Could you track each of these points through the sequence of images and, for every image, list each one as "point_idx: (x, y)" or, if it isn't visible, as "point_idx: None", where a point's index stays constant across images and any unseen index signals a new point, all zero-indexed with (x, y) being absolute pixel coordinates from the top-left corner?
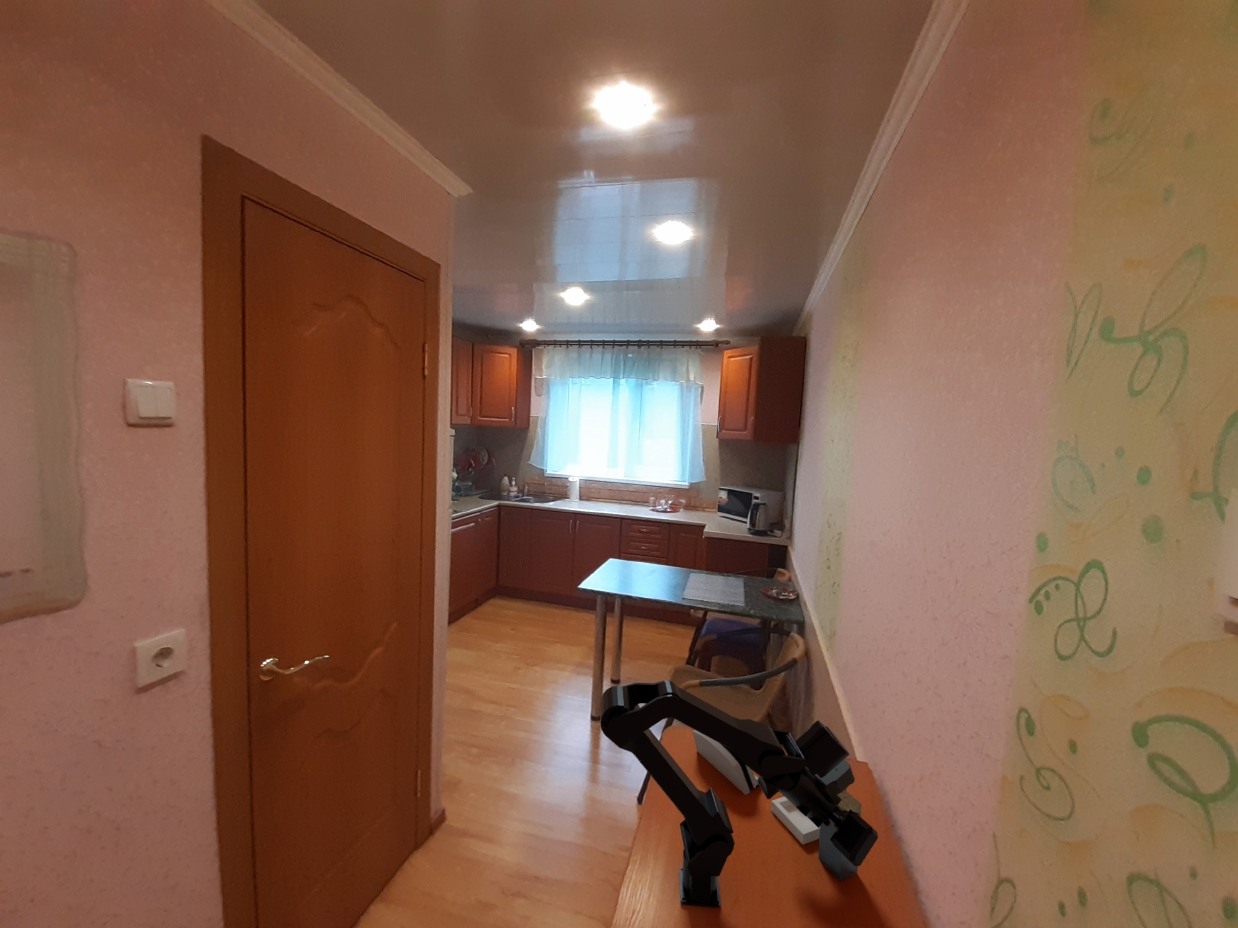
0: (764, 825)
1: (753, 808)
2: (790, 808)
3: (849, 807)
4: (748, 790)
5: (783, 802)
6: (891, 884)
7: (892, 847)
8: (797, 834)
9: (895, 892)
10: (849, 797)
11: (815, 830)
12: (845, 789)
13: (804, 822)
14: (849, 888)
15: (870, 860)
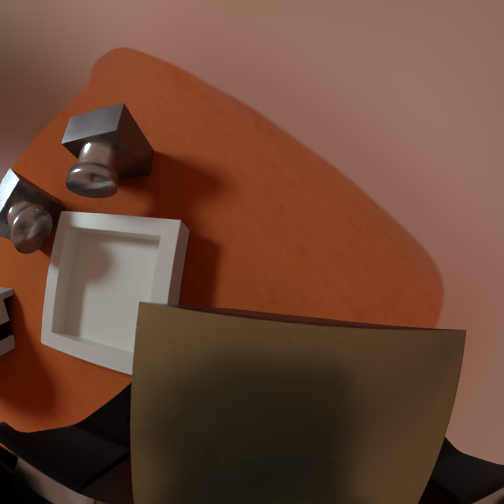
0: (85, 400)
1: (43, 372)
2: (74, 298)
3: (425, 471)
4: (9, 340)
5: (55, 315)
6: (379, 261)
7: (303, 152)
8: None
9: (397, 273)
10: (358, 381)
11: None
12: (131, 121)
13: (121, 307)
14: None
15: (306, 242)
